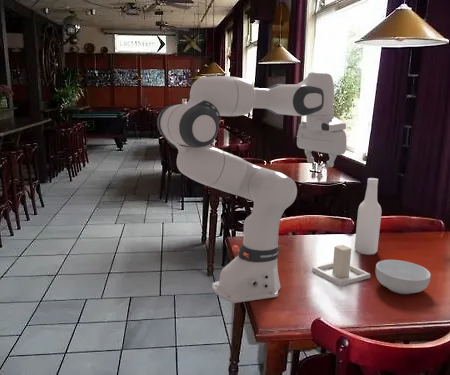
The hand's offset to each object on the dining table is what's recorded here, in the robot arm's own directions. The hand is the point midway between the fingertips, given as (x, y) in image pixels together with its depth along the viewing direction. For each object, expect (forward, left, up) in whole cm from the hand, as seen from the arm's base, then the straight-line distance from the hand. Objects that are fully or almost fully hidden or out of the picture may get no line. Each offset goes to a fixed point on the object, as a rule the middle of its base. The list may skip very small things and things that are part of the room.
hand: (320, 164), depth 146 cm
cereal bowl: (+17, -24, -39) cm, 49 cm away
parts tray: (+8, -6, -39) cm, 40 cm away
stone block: (+8, -6, -39) cm, 40 cm away
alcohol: (+34, +6, -39) cm, 52 cm away
